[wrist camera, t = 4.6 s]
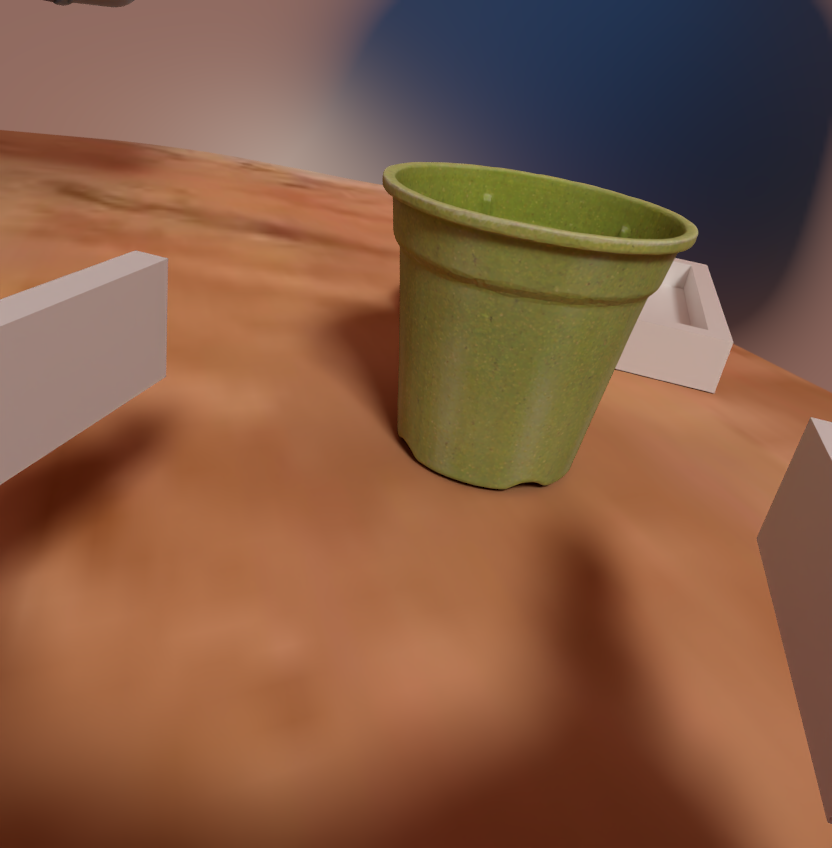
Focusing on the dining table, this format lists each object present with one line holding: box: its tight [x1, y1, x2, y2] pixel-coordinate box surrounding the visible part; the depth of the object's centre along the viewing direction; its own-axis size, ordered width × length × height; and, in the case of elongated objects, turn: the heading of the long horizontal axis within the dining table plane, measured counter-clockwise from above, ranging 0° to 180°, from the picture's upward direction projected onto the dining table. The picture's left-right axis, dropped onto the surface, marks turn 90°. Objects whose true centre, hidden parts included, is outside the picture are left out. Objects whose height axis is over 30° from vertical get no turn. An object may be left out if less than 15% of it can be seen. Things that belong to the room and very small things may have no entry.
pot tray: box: [615, 258, 733, 393], centre depth 42 cm, size 15×15×2 cm
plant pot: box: [383, 162, 698, 489], centre depth 25 cm, size 9×9×9 cm
